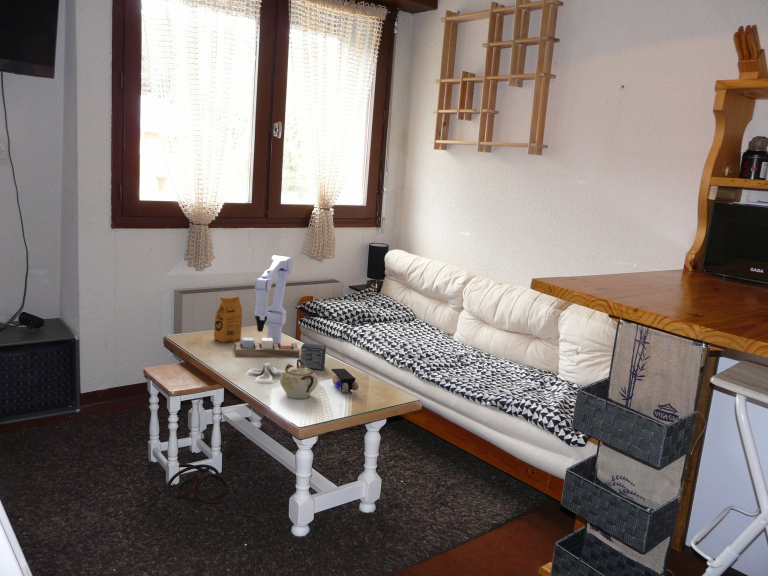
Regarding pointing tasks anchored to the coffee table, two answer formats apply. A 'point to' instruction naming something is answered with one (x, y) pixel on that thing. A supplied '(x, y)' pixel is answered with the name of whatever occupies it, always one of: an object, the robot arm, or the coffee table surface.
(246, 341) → the slate block
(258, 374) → the cloth
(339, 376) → the figurine character
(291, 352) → the block rack
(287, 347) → the terracotta block
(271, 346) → the cream block
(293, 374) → the sugar bowl
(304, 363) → the small box
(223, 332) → the coffee package
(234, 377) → the coffee table surface
